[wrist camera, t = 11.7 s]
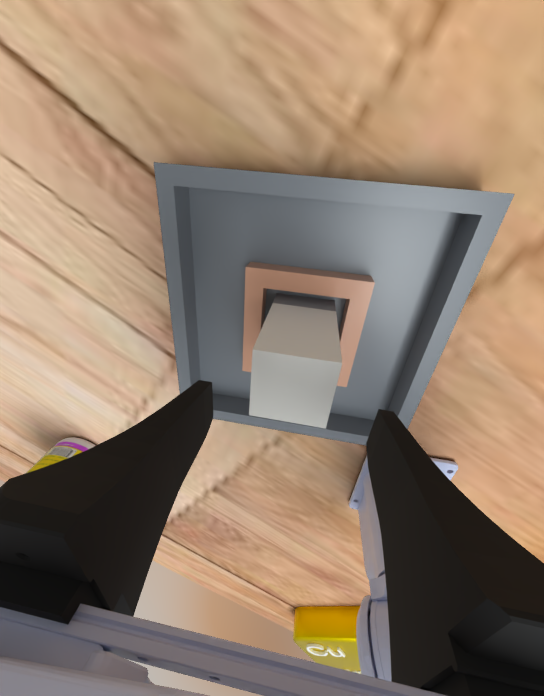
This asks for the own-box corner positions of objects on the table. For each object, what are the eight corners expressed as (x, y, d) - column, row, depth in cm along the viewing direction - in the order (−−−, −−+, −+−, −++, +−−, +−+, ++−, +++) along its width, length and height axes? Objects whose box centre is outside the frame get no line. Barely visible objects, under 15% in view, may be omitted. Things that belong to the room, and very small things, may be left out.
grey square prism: (324, 350, 21) (325, 428, 14) (272, 342, 21) (249, 415, 14) (334, 300, 19) (342, 363, 12) (277, 292, 19) (252, 349, 12)
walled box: (389, 423, 25) (397, 450, 22) (195, 391, 26) (182, 413, 24) (482, 193, 16) (514, 194, 13) (178, 166, 17) (153, 162, 15)
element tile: (324, 639, 53) (324, 676, 49) (291, 603, 48) (288, 642, 44) (405, 641, 48) (413, 683, 44) (378, 601, 43) (385, 646, 38)
